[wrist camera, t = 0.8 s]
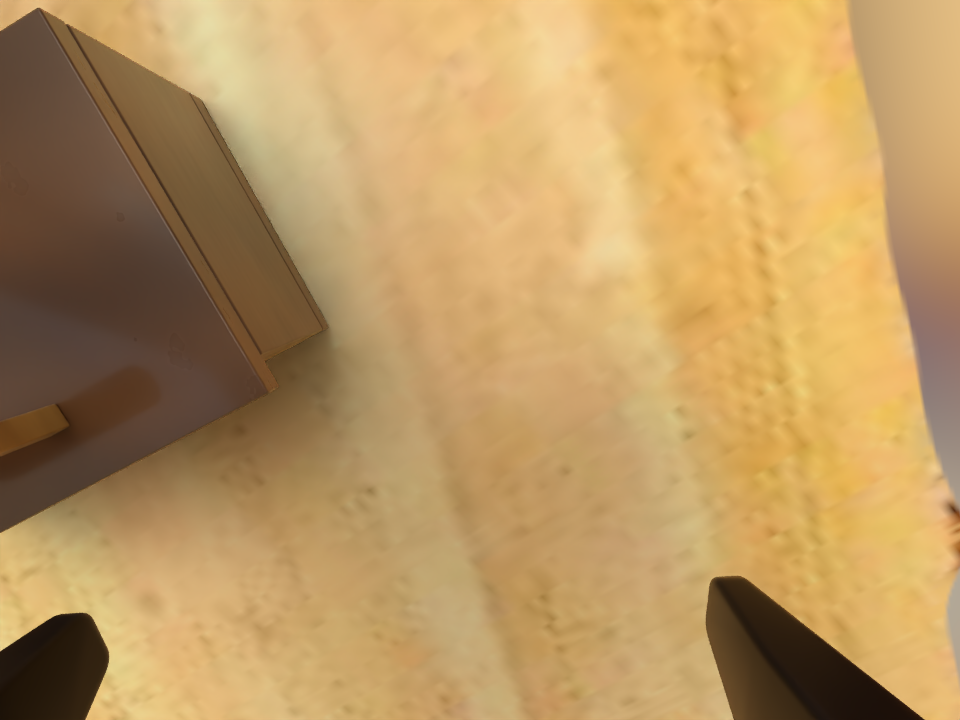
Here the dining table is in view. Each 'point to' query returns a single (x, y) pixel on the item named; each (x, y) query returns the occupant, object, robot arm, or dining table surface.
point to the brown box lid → (96, 289)
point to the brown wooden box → (210, 199)
